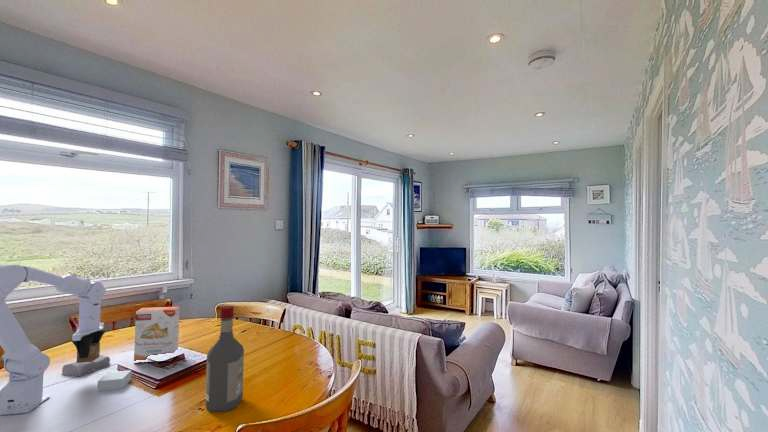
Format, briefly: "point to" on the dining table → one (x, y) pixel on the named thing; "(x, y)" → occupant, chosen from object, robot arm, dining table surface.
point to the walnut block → (90, 353)
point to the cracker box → (156, 331)
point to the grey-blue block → (114, 380)
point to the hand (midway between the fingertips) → (88, 354)
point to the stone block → (85, 366)
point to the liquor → (224, 368)
